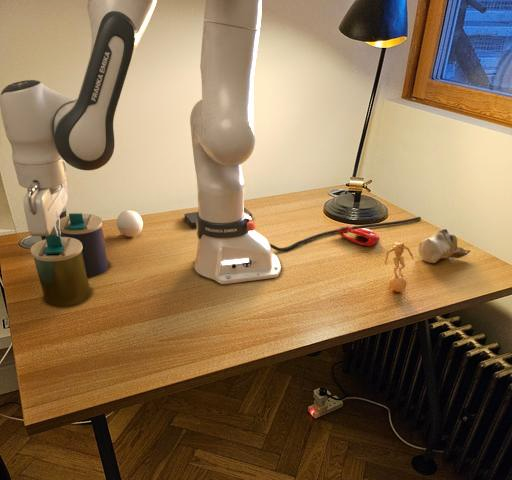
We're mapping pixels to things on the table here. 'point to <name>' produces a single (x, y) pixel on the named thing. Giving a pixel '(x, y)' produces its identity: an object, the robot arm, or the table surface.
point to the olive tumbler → (62, 273)
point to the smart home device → (193, 216)
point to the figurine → (398, 281)
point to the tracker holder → (363, 232)
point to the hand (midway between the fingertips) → (55, 238)
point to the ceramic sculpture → (440, 247)
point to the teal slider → (54, 245)
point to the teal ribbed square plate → (76, 221)
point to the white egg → (129, 223)
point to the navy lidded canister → (89, 243)
